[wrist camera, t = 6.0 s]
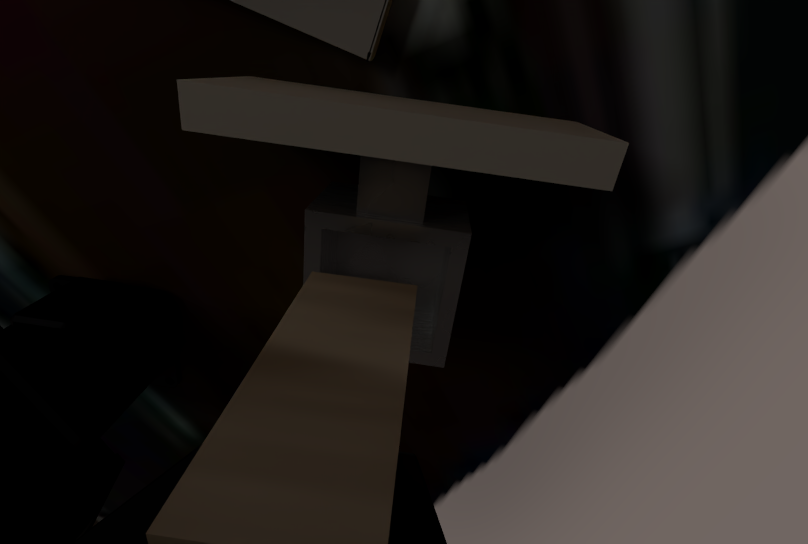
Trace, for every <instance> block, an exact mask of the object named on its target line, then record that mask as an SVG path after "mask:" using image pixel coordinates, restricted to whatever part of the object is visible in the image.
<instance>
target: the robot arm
mask: <svg viewBox="0 0 808 544" xmlns="http://www.w3.org/2000/svg"><path fill="white" fill-rule="evenodd" d="M49 288H50V291H51V293H50V294H48V295H46V296H45V297H43V298H41V299H40V300H38V301H36V302H34V303H33V304H31V305H29V306H27V307H26V308H24V309H22V310H21V311H19V312H17V313H15V314H14V315H13V316H12V317H11V318H10V322H11V325H10V326H8V327H6V328H5V329H3V328H2V327H1V326H0V544H148V541H147V537H146V532H147V531H148V529H149V527H150V526H151V524H152V523H153V521H154V520H155V518H156V516H157V515H158V513H159V512H160V510H161V509H162V507H163V505H164V504H165V502H166V501H167V499H168V498H169V496H170V494H171V493H172V491H173V490H174V488H175V486H176V485H177V483H178V482H179V480H180V479H181V477H182V475H183V474H184V472H185V471H186V469H187V468H188V466H189V464H190V463H191V461H192V460H193V458H194V457H195V455H196V453H197V452H198V450H199V449H200V447H201V446H202V444H203V443H202V444H201V445H200V446H198V447H197V448H196V449H195V450H193V451H192V452H191V453H189V454H188V455H187V456H185V457H184V458H183V459H181V460H180V461H179V462H177V463H176V464H175V465H173V466H172V467H171V468H170V469H168V470H167V471H166V472H164V473H163V474H162V475H160V476H159V477H158V478H156V479H155V480H154V481H152V482H151V483H150V484H148V485H147V486H146V487H145V488H143V489H142V490H141V491H139V492H138V493H137V494H135V495H134V496H133V497H131V498H130V499H129V500H127V501H126V502H125V503H124V504H122V505H121V506H120V507H118V508H117V509H116V510H114V511H113V512H112V513H110V514H109V515H108V516H106V517H105V518H104V519H102V520H101V521H100V522H99V523H97V524H96V525H95V526H93V524H94V522H95V520H96V518H97V516H98V514H99V512H100V511H101V509H102V507H103V505H104V503H105V501H106V499H107V497H108V495H109V493H110V491H111V489H112V487H113V485H114V483H115V481H116V479H117V477H118V475H119V473H120V471H121V469H122V467H123V465H124V463H125V461H124V460H123V459H122V457H121V456H120V455H119V454H115V453H114V452H113V451H112V450H111V449H110V448H109V447H108V446H107V445H106V443H105V442H104V441H103V440H102V439H101V438H100V437H101V436H102V435H103V434H104V433H105V432H106V431H107V430H108V429H109V428H110V427H111V425H112V424H113V423H114V422H115V421H116V420H117V419H118V418H119V417H120V416H121V415H122V414H123V412H124V411H125V410H126V409H127V408H128V407H129V406H130V405H131V404H132V403H133V402H134V401H135V399H136V398H137V397H138V396H139V395H140V394H141V393H142V392H143V391H144V390H145V389H146V388H147V386H148V385H149V384H151V385H157V386H164V387H170V388H174V387H176V386H177V385H178V384H179V383H180V381H181V379H182V377H181V370H180V362H179V355H178V348H177V341H176V334H175V327H174V319H173V312H172V305H171V299H170V296H169V295H168V294H167V293H166V292H164V291H161V290H156V289H149V288H143V287H136V286H129V285H125V284H123V283H117V282H111V281H104V280H97V279H91V278H84V277H78V278H76V277H69V276H63V275H58V276H56V277H55V278H53V279H51V280H50V281H49ZM158 298H159V299H160V300H161V301H162V302H160V301H159V300H158ZM172 379H173V380H172ZM92 526H93V527H92ZM388 544H447V543H446V540H445V537H444V534H443V531H442V528H441V525H440V523H439V520H438V517H437V514H436V511H435V508H434V505H433V503H432V500H431V497H430V494H429V491H428V488H427V485H426V482H425V480H424V477H423V474H422V471H421V468H420V465H419V462H418V460H417V457H416V455H415V454H413V453H406V452H398V460H397V469H396V477H395V486H394V495H393V504H392V512H391V521H390V530H389V539H388Z"/></svg>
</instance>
